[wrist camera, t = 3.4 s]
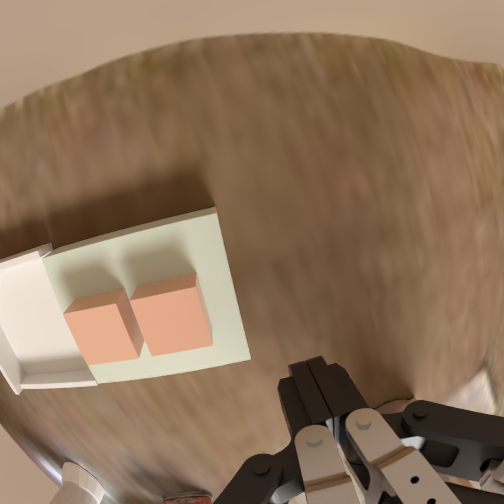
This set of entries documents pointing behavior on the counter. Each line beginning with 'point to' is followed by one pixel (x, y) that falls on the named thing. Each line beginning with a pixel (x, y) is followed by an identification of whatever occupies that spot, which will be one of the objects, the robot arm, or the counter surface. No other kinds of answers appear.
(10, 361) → the tray
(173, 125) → the counter surface
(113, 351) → the tile
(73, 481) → the soap bottle
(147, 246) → the cream square panel
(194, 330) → the tile
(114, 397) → the counter surface
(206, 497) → the lighter
